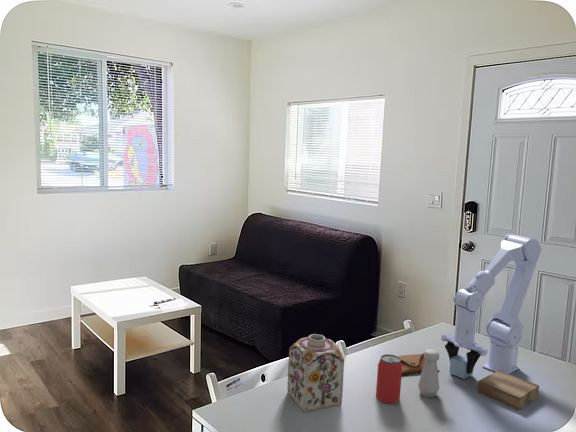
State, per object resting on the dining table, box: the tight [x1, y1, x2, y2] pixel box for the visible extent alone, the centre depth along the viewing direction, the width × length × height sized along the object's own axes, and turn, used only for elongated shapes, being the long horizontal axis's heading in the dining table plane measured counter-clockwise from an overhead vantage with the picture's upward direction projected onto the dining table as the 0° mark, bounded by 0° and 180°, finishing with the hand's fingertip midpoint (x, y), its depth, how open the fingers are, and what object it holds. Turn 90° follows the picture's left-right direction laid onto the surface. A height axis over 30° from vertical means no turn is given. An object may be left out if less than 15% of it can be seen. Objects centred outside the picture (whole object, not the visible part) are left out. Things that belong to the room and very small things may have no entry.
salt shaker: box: [418, 348, 440, 398], centre depth 138 cm, size 6×6×13 cm
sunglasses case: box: [397, 352, 440, 377], centre depth 155 cm, size 18×7×7 cm, turn 110°
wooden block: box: [477, 370, 540, 411], centre depth 140 cm, size 12×12×4 cm
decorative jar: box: [286, 333, 345, 413], centre depth 132 cm, size 12×12×18 cm
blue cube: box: [449, 353, 474, 380], centre depth 152 cm, size 5×5×5 cm
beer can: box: [375, 353, 403, 405], centre depth 135 cm, size 7×7×12 cm
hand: (461, 369), depth 152 cm, fingers closed on blue cube, 5 cm apart
